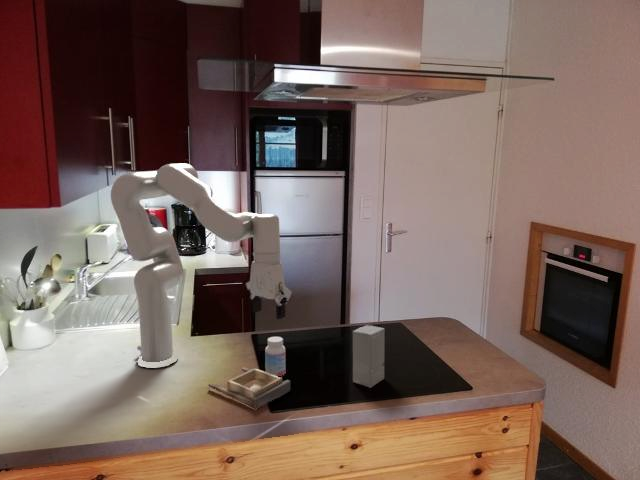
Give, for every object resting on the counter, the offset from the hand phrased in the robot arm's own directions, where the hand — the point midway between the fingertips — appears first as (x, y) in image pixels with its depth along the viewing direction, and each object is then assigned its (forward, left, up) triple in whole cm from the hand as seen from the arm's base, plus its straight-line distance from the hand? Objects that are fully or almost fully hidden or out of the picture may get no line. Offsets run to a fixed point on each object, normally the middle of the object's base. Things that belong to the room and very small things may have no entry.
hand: (268, 314), depth 148 cm
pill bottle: (0, +2, -20) cm, 20 cm away
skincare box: (+24, +16, -20) cm, 35 cm away
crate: (+5, -11, -19) cm, 22 cm away
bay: (+2, -11, -19) cm, 22 cm away
